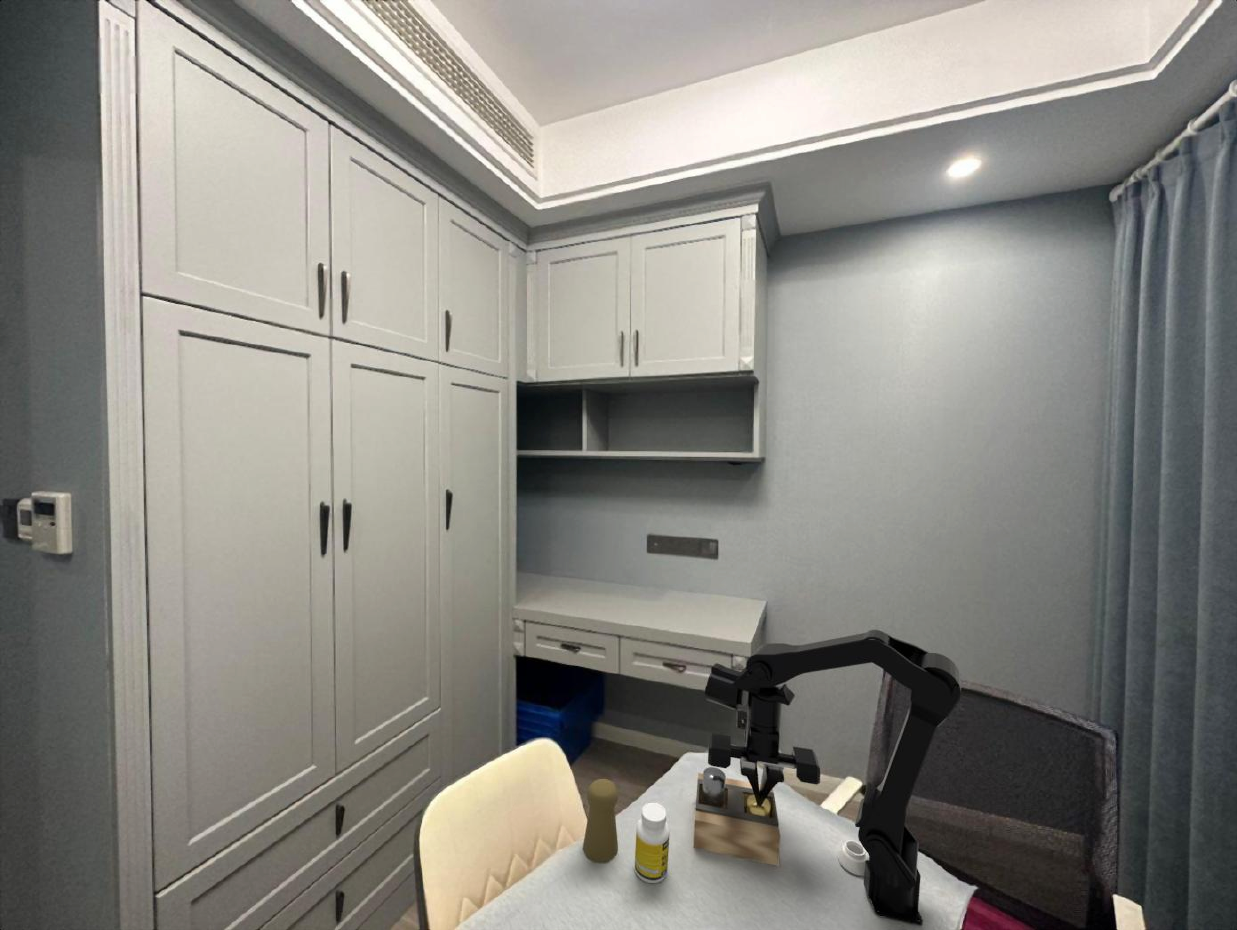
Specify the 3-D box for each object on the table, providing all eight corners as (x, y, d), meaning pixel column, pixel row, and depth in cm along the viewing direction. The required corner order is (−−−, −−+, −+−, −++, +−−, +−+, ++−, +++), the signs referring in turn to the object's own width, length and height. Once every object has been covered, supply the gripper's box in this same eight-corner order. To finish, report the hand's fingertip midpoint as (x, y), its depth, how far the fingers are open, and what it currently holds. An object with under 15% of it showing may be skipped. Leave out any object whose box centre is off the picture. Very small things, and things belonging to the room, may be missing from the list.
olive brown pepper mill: (586, 830, 85) (589, 770, 84) (620, 835, 84) (622, 775, 83) (579, 860, 79) (581, 795, 78) (615, 865, 78) (618, 801, 77)
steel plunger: (724, 794, 88) (725, 769, 88) (724, 810, 85) (725, 784, 84) (702, 790, 89) (703, 765, 89) (701, 806, 85) (702, 780, 85)
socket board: (771, 811, 91) (772, 784, 90) (778, 866, 79) (780, 834, 79) (696, 797, 94) (698, 771, 93) (693, 847, 82) (694, 817, 82)
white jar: (877, 873, 79) (854, 849, 83) (879, 856, 78) (855, 832, 83) (853, 881, 77) (831, 855, 82) (854, 864, 77) (832, 839, 82)
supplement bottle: (665, 888, 74) (668, 828, 74) (631, 881, 75) (634, 821, 75) (669, 859, 80) (672, 802, 79) (637, 852, 81) (639, 796, 80)
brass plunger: (767, 822, 87) (769, 797, 87) (770, 840, 83) (771, 813, 83) (745, 818, 88) (746, 793, 88) (746, 835, 84) (747, 809, 84)
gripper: (811, 702, 90) (806, 782, 91) (711, 688, 94) (707, 764, 95) (823, 737, 79) (817, 827, 80) (710, 719, 83) (705, 805, 84)
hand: (759, 803), depth 85 cm, fingers closed, pressing on brass plunger
